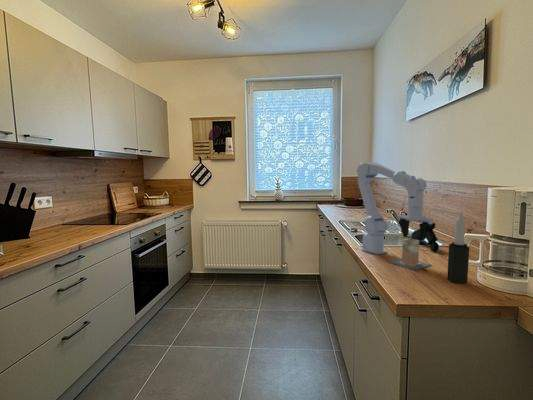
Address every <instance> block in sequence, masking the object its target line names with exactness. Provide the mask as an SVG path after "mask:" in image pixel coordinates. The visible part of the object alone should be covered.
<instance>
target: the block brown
mask: <svg viewBox="0 0 533 400" xmlns="http://www.w3.org/2000/svg"><path fill="white" fill-rule="evenodd" d="M401 252H402V253H401V258H402V263H406V264H409V265H414V264H418V261H419V254H420V251H419V252H416V253H409V252H405V251H402V250H401Z"/></svg>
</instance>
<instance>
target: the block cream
mask: <svg viewBox="0 0 533 400" xmlns="http://www.w3.org/2000/svg"><path fill="white" fill-rule="evenodd" d="M401 246H402V250H401V252H402V251H405V252H409V253H416V252H419V253H420V241H419V240H417V239H412V237H406V238H403V239H402V245H401Z"/></svg>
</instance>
